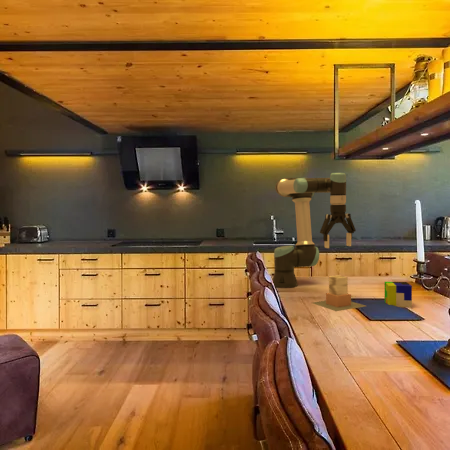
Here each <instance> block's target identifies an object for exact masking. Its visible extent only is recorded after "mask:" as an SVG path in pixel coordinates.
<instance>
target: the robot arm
mask: <svg viewBox="0 0 450 450" xmlns="http://www.w3.org/2000/svg"><path fill="white" fill-rule="evenodd" d="M274 189H275V191H276V193H277V194H278V195H279V196H281V197H284V198H291V200H292V202H293V203H294V207H295V208H294V210H295V221H296V222H295V223H296V237H297V242H296V244H294V245H295V247H294V245H283V246H278V247H276V248H274V250H273V251H274V252H273V260H274V262H273V263H274V265H273V266H274V267H273V268H274V269H273V270H274V273H273V276H272V280H273V283H274V285H275V286H276V287H275V288H280V287H290V288H296V287H297V286H298V280H297V277H296V275H295V274H296V273H295V268H310V267H315V266H316V265H317V264H318V262H319V259H320V250H319V248H318V247H317V246H316V244H315V243H314V242H313V237H312V235H313V234H312V223H311V222H312V221H311V207H310V202H311V201H312V197H314V195H315V193H316V194H317V193H318V194H319V193H324V194H325V193H327V194H329V195H330V197H329V204H330V205H329V206H330V208H329V209H330V214H328V213H327V214H325V216H324V221H323V223H322V226H321V227H320V231H319V233H320V234H321V235H323V242H324V248H325V249H330V234H329V233H330V232H331V230H332V229H333V227H334V226H335V224H342V226H343V227H344V229H345V230H346V231H347V232H346V239H345V240H346V246H347V247H352V240H353V234H354V233H355V232H356V227H355V224H354V223H353V220H352V215H351V213H346V212H347V205H346V204H347V175H346V173H345V172H331V173H330V177H285V178H281V179H279V180H278V181H277V182H276V184H275V188H274ZM295 286H296V287H295Z"/></svg>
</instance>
